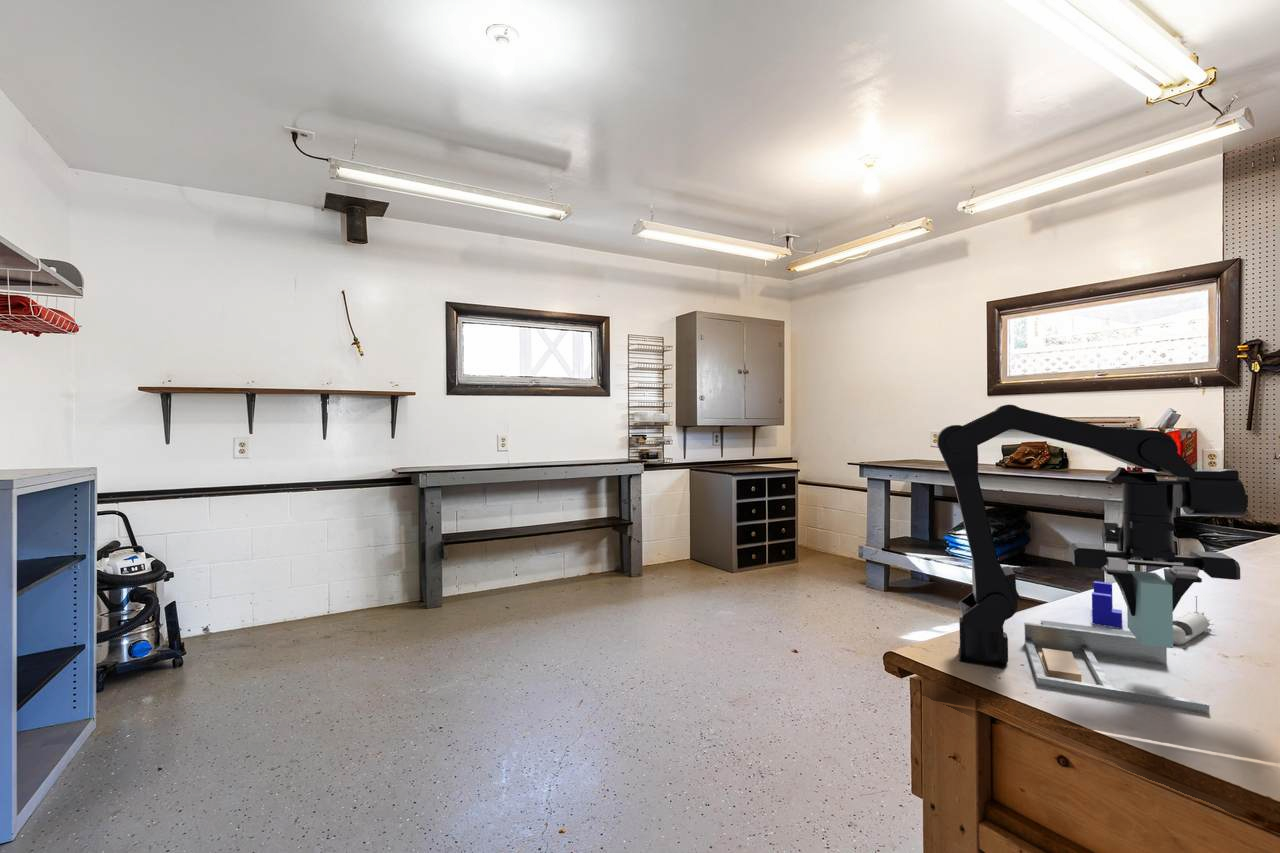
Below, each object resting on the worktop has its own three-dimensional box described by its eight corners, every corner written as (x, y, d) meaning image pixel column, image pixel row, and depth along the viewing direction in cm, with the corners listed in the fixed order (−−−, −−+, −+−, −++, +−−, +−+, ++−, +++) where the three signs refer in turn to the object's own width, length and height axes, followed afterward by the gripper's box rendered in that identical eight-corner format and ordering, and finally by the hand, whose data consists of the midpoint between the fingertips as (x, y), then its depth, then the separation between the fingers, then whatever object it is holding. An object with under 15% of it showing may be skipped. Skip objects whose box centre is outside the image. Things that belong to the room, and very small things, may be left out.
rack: (1037, 687, 87) (1037, 660, 87) (1024, 644, 103) (1024, 622, 103) (1209, 716, 78) (1208, 686, 78) (1164, 664, 94) (1164, 639, 94)
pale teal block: (1141, 644, 85) (1140, 582, 85) (1127, 627, 92) (1126, 570, 92) (1173, 648, 83) (1172, 585, 83) (1156, 630, 90) (1155, 572, 90)
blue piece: (1122, 629, 111) (1121, 597, 111) (1092, 624, 114) (1091, 593, 114) (1122, 613, 120) (1121, 584, 120) (1094, 609, 123) (1093, 581, 123)
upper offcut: (1049, 677, 89) (1048, 670, 89) (1042, 655, 98) (1042, 648, 98) (1081, 682, 87) (1081, 674, 87) (1071, 659, 96) (1071, 651, 96)
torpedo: (1188, 651, 100) (1188, 613, 100) (1153, 642, 104) (1153, 606, 104) (1220, 630, 110) (1220, 595, 110) (1187, 623, 114) (1186, 590, 114)
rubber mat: (1051, 646, 102) (1051, 644, 102) (1041, 622, 115) (1041, 620, 115) (1155, 661, 96) (1154, 658, 96) (1132, 634, 108) (1132, 631, 108)
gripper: (1210, 510, 90) (1212, 610, 90) (1063, 503, 99) (1064, 595, 99) (1241, 520, 80) (1243, 633, 80) (1074, 512, 89) (1075, 614, 89)
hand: (1149, 617), depth 88 cm, fingers closed on pale teal block, 3 cm apart
